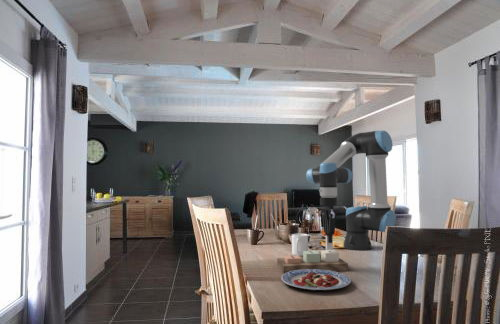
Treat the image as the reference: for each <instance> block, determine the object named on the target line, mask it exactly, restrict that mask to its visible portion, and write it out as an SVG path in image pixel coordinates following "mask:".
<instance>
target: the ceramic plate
mask: <svg viewBox="0 0 500 324" xmlns="http://www.w3.org/2000/svg"><path fill="white" fill-rule="evenodd" d="M280 280H281V281H282V282H283V283H285V284H287V285H288V286H290V287H295V288H297V289H298V288H299V289H301V290H302V289H303V290H306V289H307V291H308V290H309V291H316V290H323V291H330V290H336V289H341V288H344V287H345V288H346V287H347V286H349V285H350V284H351V282H352V280H351V278H350V277H349V276H348V275H346V274H344V273H342V272H340V271H330V270H321V269H301V270H294V271H290V272H287V273H283V274H282V275H281V278H280Z"/></svg>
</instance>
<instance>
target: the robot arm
mask: <svg viewBox="0 0 500 324" xmlns="http://www.w3.org/2000/svg"><path fill="white" fill-rule="evenodd" d="M392 150H393V140H392V137H391V134H390V133H388V131H386V130H373V131H366V132H365V131H364V132H358V133H355V134H353V135H351V136H350V137H348V138H346V139H345V140H344V141H343V142H341V144H340V146H339V147H338V149H336V150H335V151H334V152H333V153H332V154H331V155H329V156H328V157H327V158H326V159H325V160H324V161H322V162H321V163H320V164H319V165H318V166H317V167H316V168H308V170H307V171H306V173H305V177H306V181H307V182H308V183H310V184H314V185H316V184H318V185H319V190H318V192H319V196H320V198H319V204H320V206H321V207H323V210H322V211H321V215H322V216H321V217H322V228H323V232H324V234H325V250H334V243H333V242H334V240H333V239H334V238H333V237H334V235H335V234H336V218H337V213H335V210H334V209H335V208H334V207H336V206H338V184H342V185H346V184H349V183H350V182H351V181H352V179H353V172H352V171H351V169H350V168H347V167H341V166H342V165H343V164H344V163H345V162H346V161H348V159H350V158H353V157H355V156H356V155H359V154H360V155H361V154H365V158H367V159H368V173H369V174H368V176H369V178H368V179H369V195H370V196H369V197H370V204H369V205H368V206H366V205H361V206H351V207H347V208H346V210H345V224H346V225H345V226H346V232H345V237H344V240H343V248H344V249H348V250H352V251H353V250H354V251H366V250H371V249H372V247H373V246H372V242H371V239H370V237H369V231H373V232H380V233H386V232H385V229H386V226H394V227H395V225H396V220H397V216H396V215H397V214H396V212H395V211H394V210H392V207H391V205H390V203H389V202H388V185H387V162H386V160H387V158H388V156H389V153H390V152H391V151H392Z"/></svg>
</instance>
